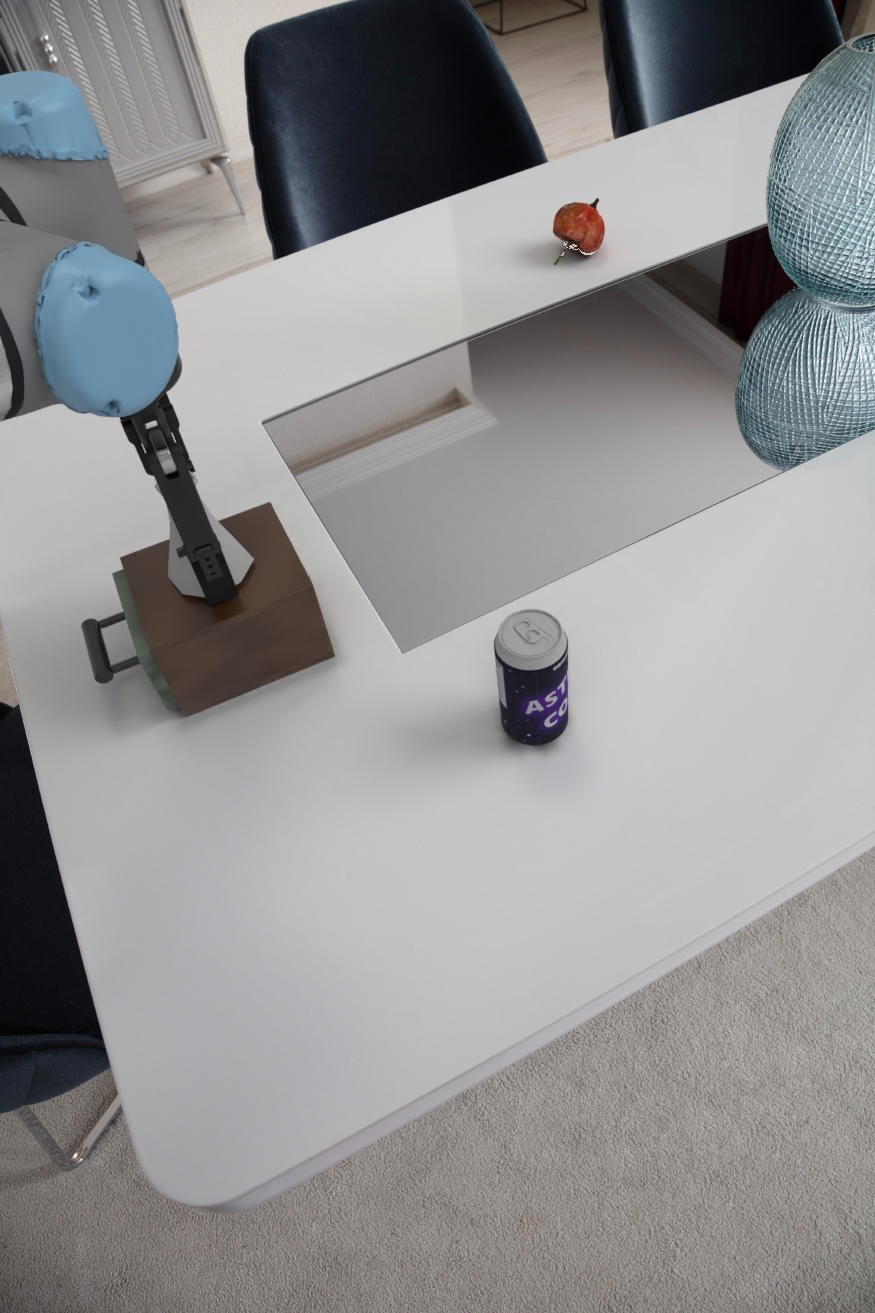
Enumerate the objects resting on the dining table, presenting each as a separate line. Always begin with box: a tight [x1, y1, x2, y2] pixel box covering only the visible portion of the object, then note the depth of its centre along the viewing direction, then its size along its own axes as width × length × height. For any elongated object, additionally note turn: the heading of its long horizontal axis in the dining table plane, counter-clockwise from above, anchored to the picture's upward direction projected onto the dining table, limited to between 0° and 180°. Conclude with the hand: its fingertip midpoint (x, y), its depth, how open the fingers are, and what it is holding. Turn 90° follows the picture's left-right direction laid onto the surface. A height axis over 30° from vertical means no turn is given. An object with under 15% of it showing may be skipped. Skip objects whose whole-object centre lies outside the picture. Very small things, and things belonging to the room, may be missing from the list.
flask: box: [154, 470, 254, 597], centre depth 78 cm, size 7×7×10 cm
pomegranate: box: [552, 197, 606, 266], centre depth 126 cm, size 7×7×10 cm
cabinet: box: [119, 501, 336, 718], centre depth 85 cm, size 15×13×10 cm
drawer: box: [80, 568, 181, 713], centre depth 85 cm, size 18×11×8 cm, turn 114°
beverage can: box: [493, 608, 569, 746], centre depth 75 cm, size 6×6×12 cm
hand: (210, 567), depth 81 cm, fingers closed on flask, 7 cm apart
